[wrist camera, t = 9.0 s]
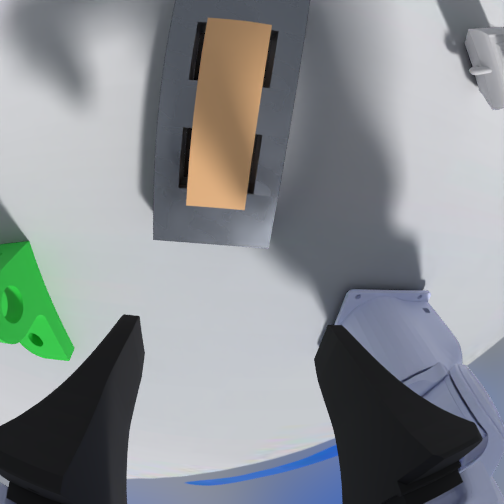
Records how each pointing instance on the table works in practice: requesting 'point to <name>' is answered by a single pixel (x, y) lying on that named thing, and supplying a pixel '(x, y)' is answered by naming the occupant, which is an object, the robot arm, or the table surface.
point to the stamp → (488, 62)
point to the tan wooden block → (226, 112)
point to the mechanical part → (29, 306)
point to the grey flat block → (268, 126)
